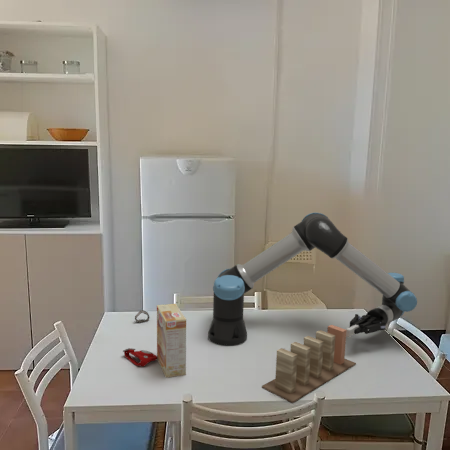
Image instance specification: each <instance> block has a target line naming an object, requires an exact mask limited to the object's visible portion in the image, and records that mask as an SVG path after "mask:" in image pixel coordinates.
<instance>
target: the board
mask: <svg viewBox="0 0 450 450" xmlns="http://www.w3.org/2000/svg"><path fill="white" fill-rule="evenodd" d="M356 365H357V362H355V361H352V360H350V359H347V358H344V363H342V364H341V365H340V364H338V363H335V362H334V363H333V369H332V370H331V371H327V370H325V369H322V373H321V376H320V377H319V378H315V377H313V376H310V375H309V383H308V384H307V385H305V386H303V385H301V384H299V383H297V382H296V388H295V392H293V393H291V394H289V393H287V392H285V391H283V390H281V389H279V388H277V387H275V378H274V379H272V380H269V381H268V382H267V383H265V384H263V385H261V388H262V389H264V390H266V391H268V392H269V393H272V394H273V395H276V396H277V397H279V398H282V399H283V400H285V401H287V402H289V403H291V404H294V403H296V402H298V401H299V400H301V399H302V398H304V397H306V396H307V395H309V394H310V393H312V392H314V391H316V390H317V389H319V388H320V387H322V386H324V385H325V384H327V383H329V382H330V381H331V380H332V381H333V379H335V378H337V377H338V376H340V375H341V374H344V372H347V370H349V369H352V368H353V367H354V366H356Z"/></svg>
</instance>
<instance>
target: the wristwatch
mask: <svg viewBox="0 0 450 450" xmlns="http://www.w3.org/2000/svg"><path fill="white" fill-rule="evenodd" d="M141 314H144V315H146V316H147V318H146V319H144V320H143V319H142V320H140V319H137V318H138V317H139V316H140V315H141ZM134 320H135V321H136V322H137V323H140V324H142V323H147V322H148V321H149V320H150V314H149V312H148V311H146V310H144V309H141V310H139V311H138V313H137V314H135V316H134Z"/></svg>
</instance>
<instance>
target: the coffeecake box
mask: <svg viewBox="0 0 450 450" xmlns="http://www.w3.org/2000/svg"><path fill="white" fill-rule="evenodd" d="M156 356H157V362H158V364H159V366H160V368H161V370H162V373H163V374H164V377H165V379H168V378H174V377H175V378H176V377H183V376H186V375H187V318H186V317H185V315H184V314H183V312H182V311H181V309H180V308H179V306H178V305H177V303H169V304H158V305H156Z"/></svg>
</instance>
